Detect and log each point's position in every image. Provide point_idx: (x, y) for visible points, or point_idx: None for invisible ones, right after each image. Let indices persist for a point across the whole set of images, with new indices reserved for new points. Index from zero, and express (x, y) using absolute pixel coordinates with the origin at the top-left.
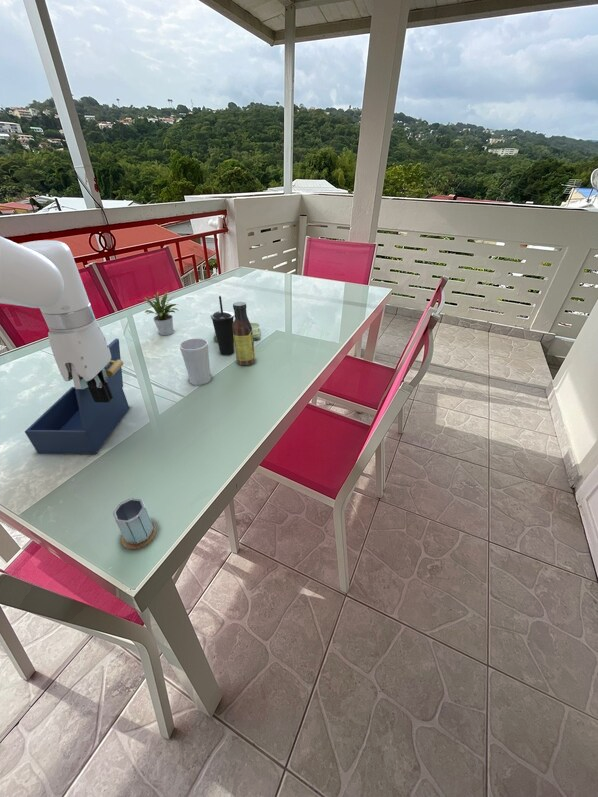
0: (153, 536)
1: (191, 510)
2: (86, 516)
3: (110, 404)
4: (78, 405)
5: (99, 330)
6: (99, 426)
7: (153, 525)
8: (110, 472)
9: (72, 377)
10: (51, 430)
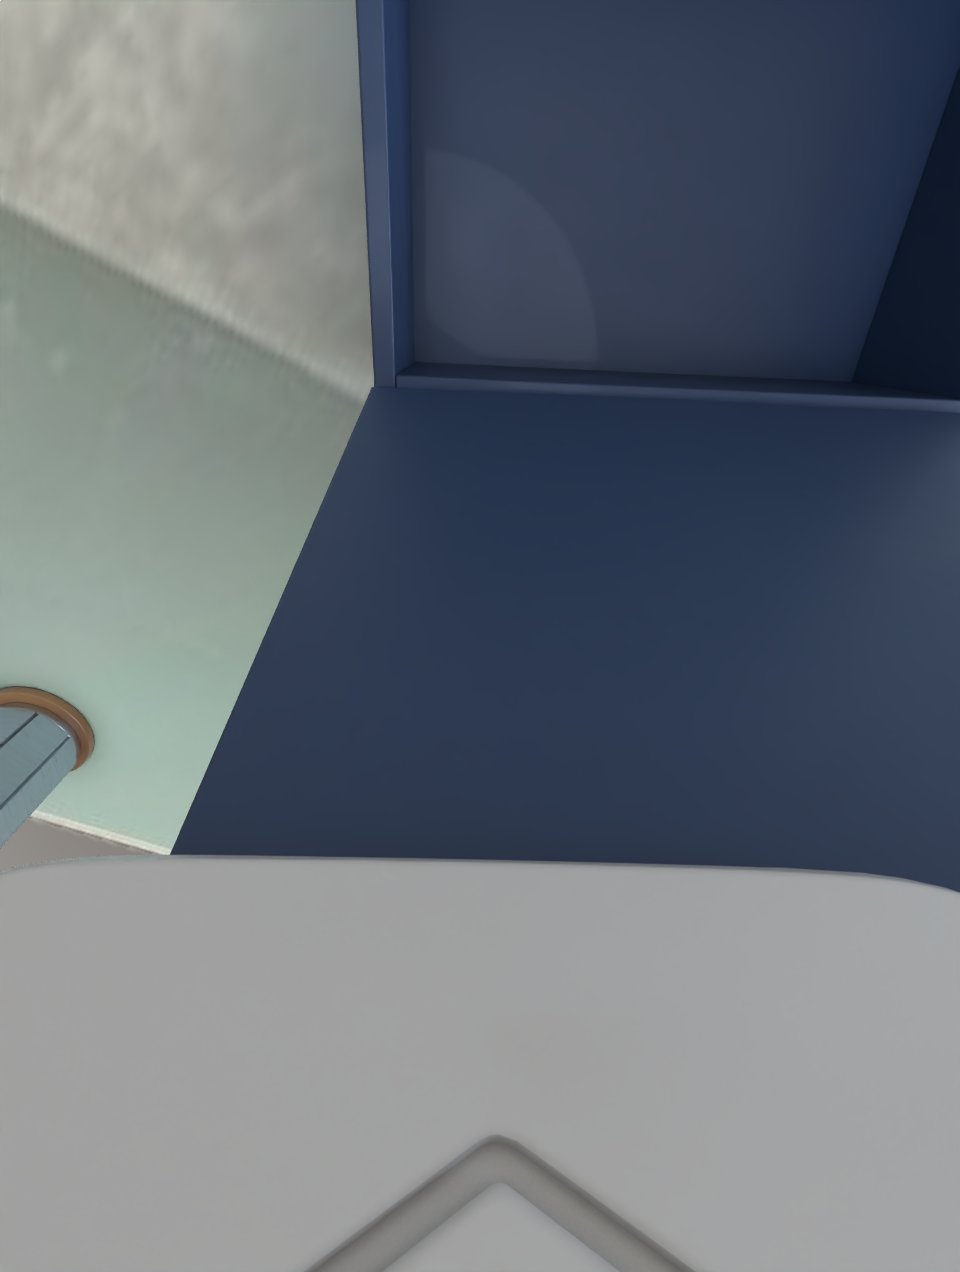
0: None
1: (173, 831)
2: (33, 526)
3: None
4: (318, 513)
5: None
6: None
7: (76, 764)
8: (282, 519)
9: (191, 855)
10: (376, 13)
